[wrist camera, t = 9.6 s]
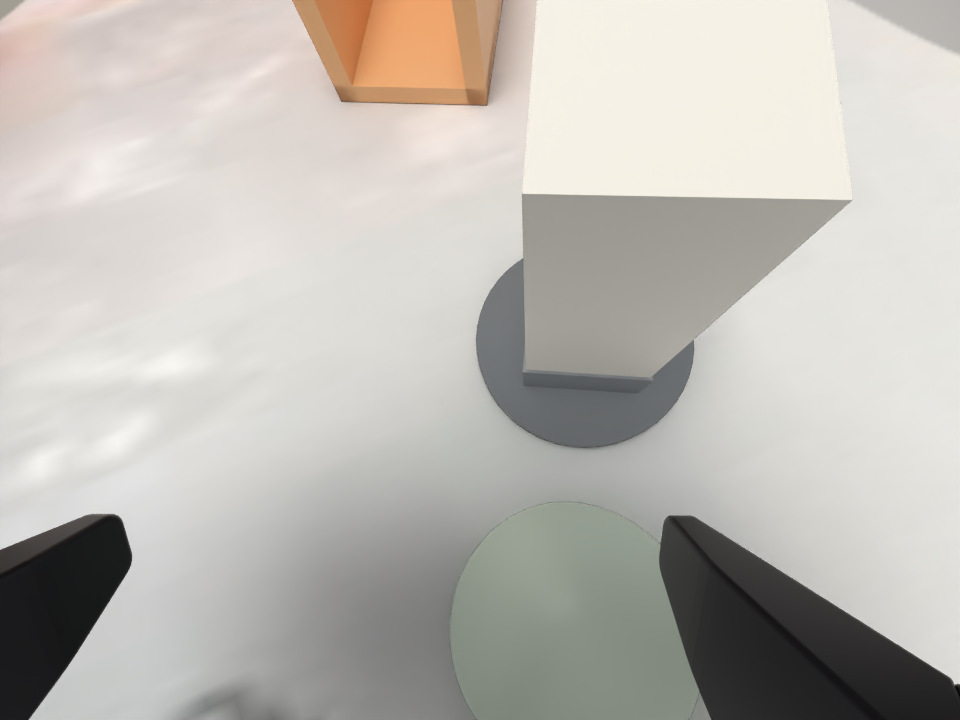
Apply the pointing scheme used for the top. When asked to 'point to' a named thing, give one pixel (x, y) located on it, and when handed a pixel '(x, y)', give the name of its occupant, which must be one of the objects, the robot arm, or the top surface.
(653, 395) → the pad dark
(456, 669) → the pad pale
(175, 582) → the top surface
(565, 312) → the tall white pillar block
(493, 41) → the chute
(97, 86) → the top surface
